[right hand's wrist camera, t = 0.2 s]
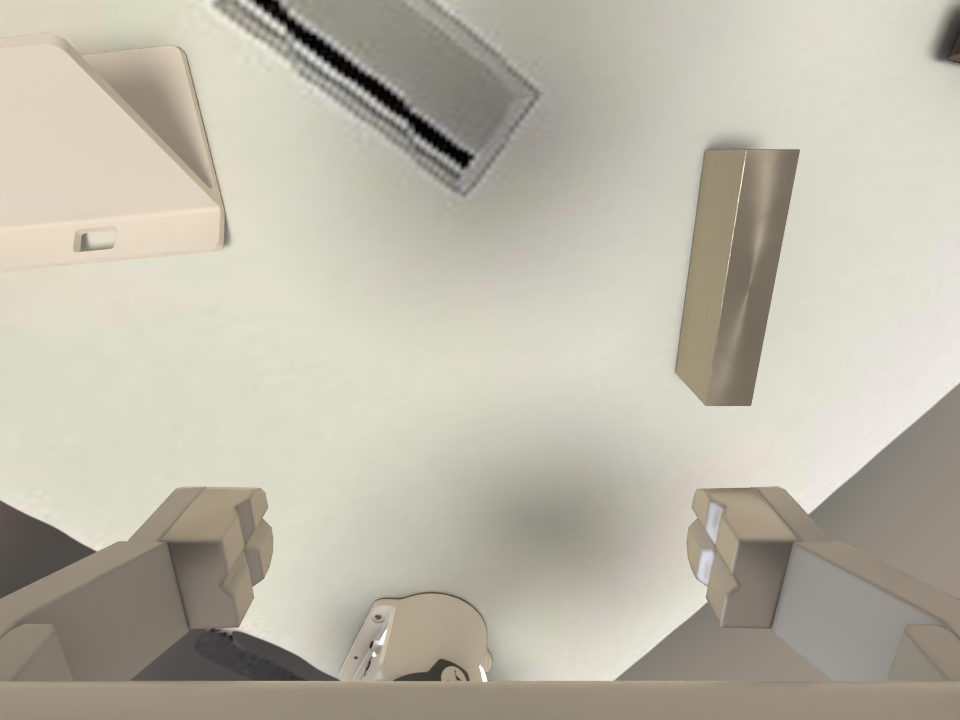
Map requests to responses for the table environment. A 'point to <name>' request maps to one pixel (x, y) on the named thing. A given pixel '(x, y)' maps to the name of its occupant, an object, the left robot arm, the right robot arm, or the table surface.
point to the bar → (733, 270)
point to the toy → (956, 51)
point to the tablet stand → (101, 155)
